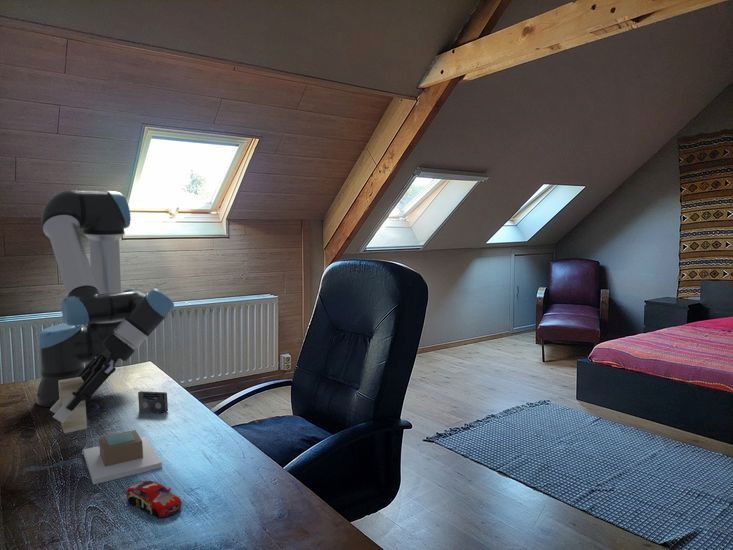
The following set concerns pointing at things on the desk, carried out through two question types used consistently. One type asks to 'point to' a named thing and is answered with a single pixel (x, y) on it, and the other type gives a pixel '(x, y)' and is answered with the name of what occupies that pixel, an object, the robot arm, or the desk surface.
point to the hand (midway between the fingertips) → (56, 416)
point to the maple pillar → (79, 414)
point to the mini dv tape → (153, 402)
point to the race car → (153, 498)
